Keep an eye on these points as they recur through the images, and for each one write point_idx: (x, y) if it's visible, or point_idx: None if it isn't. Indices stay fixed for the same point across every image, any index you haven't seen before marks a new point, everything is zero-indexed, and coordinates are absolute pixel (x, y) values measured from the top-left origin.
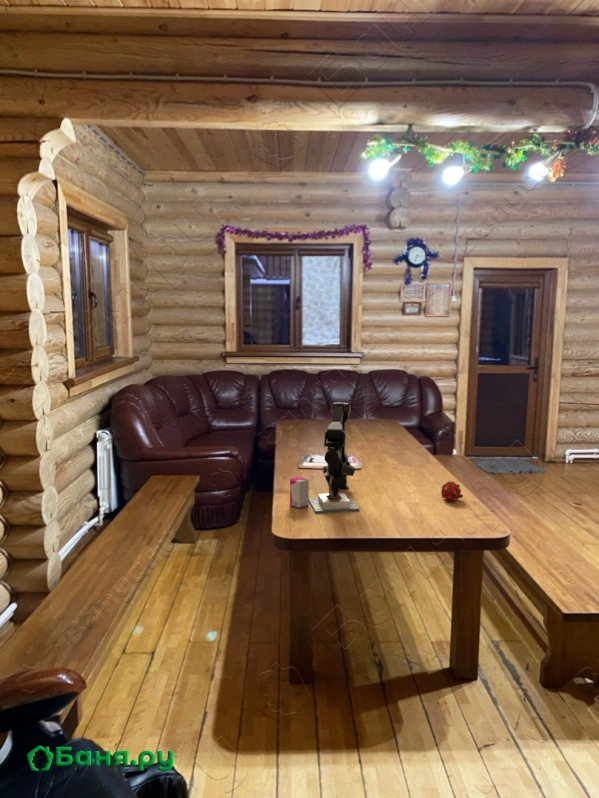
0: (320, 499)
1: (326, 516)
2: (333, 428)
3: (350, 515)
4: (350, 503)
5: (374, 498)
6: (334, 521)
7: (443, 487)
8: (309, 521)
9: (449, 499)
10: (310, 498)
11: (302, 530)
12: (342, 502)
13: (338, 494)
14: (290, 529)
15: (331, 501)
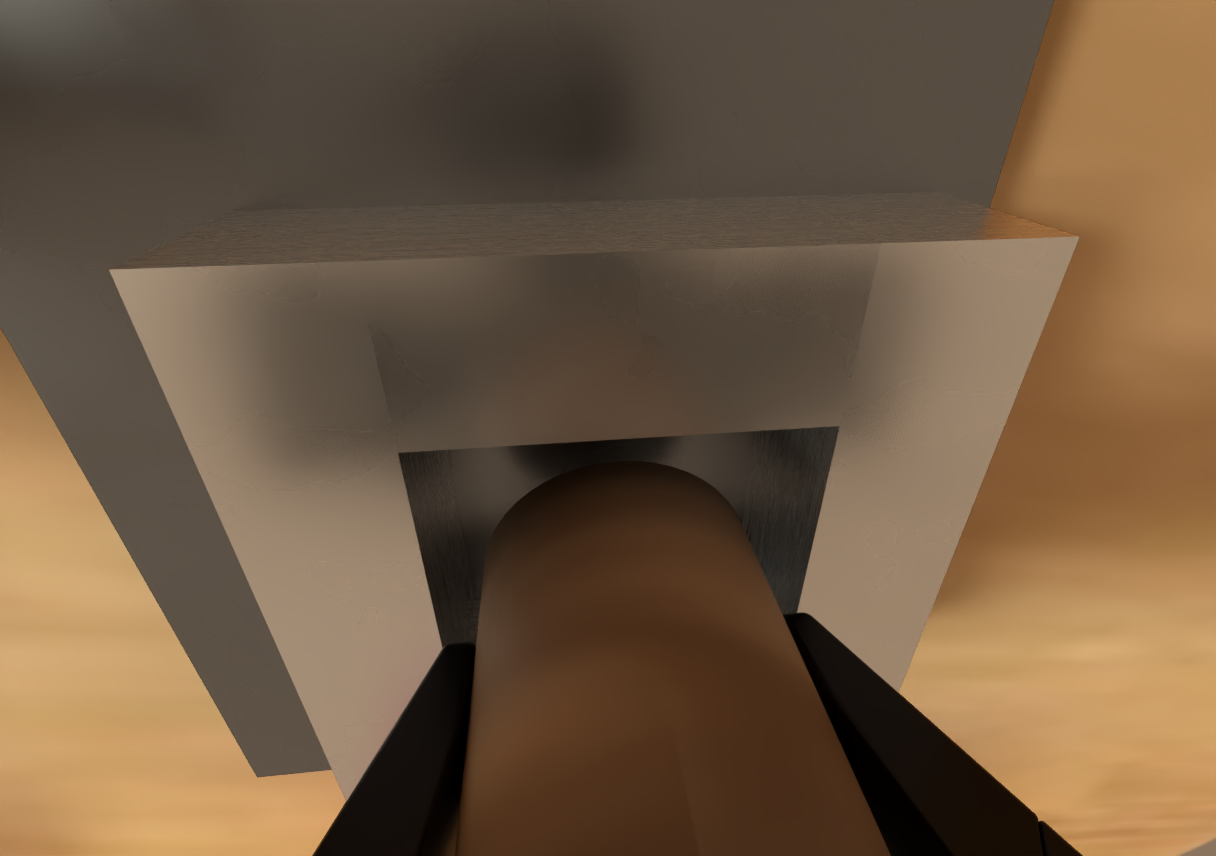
0: None
1: (975, 592)
2: None
3: (1149, 243)
4: (601, 84)
5: None
6: (1197, 525)
7: None
8: (1020, 735)
9: None
10: (270, 758)
11: (1182, 775)
12: (971, 443)
13: (770, 605)
14: (1099, 832)
15: (876, 655)
